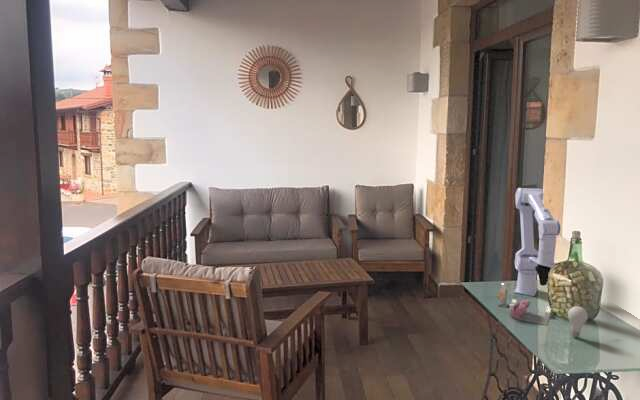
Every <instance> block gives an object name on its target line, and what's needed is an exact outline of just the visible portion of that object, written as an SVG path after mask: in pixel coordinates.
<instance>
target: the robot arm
mask: <svg viewBox="0 0 640 400" xmlns="http://www.w3.org/2000/svg"><path fill="white" fill-rule="evenodd" d="M514 197H515V198H514V199H515V200H514V201H515V208H516V209H518V210H519V216H520V237H521V238H520V239H521V248H520V249H519V250H518V251H516V252H515V258H514V267H515V269H516V271H518V273H517V279H516V280H517V281H516V282H517V283H516V287H515V290H514V291H513V292H514V293H515V294H521V295H527V296H533V297H535V296H536V295H537V294H536V293H537V290H538V288H537V287H536V285H537V284H536V283H537V276H538V280H539V285H540V286H547V283H548V281H549V279H548V272H549V271H550V269H551V268H554V267H556V266H555V265H556V264H557V263H556V262H555V255H556V247H557V246H556V244H557V237H558V236H559V235H560V233H561V223H560V221H559V220H558V219H556V218H554V217H553V215H552V213H551V212H550V209H549V208H546V207H545V205H544V203H543V200H544V191H543V190H542V188H528V187H527V188H525V187H518V188H517V189H516V192H515V196H514ZM533 211H534V217H535V220H536V222H537V223H538V228H537V229H538V238H539V243H538V244H539V246H538V250H537V249H536V248H535V238H534V236H535V235H534V223H533V221H534V220H533ZM547 279H548V280H547Z"/></svg>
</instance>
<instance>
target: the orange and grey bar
mask: <svg viewBox="0 0 640 400" xmlns="http://www.w3.org/2000/svg"><path fill="white" fill-rule="evenodd" d="M509 286H510V283H509V282H505V281H504V282H501V283H500V290H499V291H498V292H497V293H498V295H497V298H499V299H501V298H505V292H506V290H508V291H509V290H510V288H509Z"/></svg>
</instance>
